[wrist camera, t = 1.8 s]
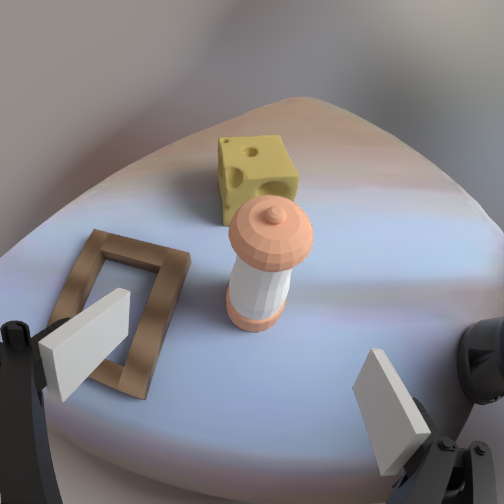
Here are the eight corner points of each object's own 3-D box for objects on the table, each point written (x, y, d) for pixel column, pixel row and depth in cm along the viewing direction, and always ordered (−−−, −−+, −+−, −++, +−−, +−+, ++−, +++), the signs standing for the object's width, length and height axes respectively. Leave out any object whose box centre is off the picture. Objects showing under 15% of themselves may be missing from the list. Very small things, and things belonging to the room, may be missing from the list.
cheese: (223, 228, 44) (223, 181, 35) (216, 179, 49) (215, 133, 41) (288, 222, 46) (301, 176, 37) (273, 176, 51) (282, 131, 43)
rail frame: (145, 399, 30) (139, 398, 27) (47, 354, 30) (38, 349, 28) (191, 262, 40) (189, 252, 38) (99, 238, 41) (93, 228, 39)
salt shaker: (220, 325, 36) (216, 240, 20) (232, 276, 40) (238, 170, 23) (276, 337, 36) (321, 261, 19) (284, 286, 39) (324, 187, 23)
